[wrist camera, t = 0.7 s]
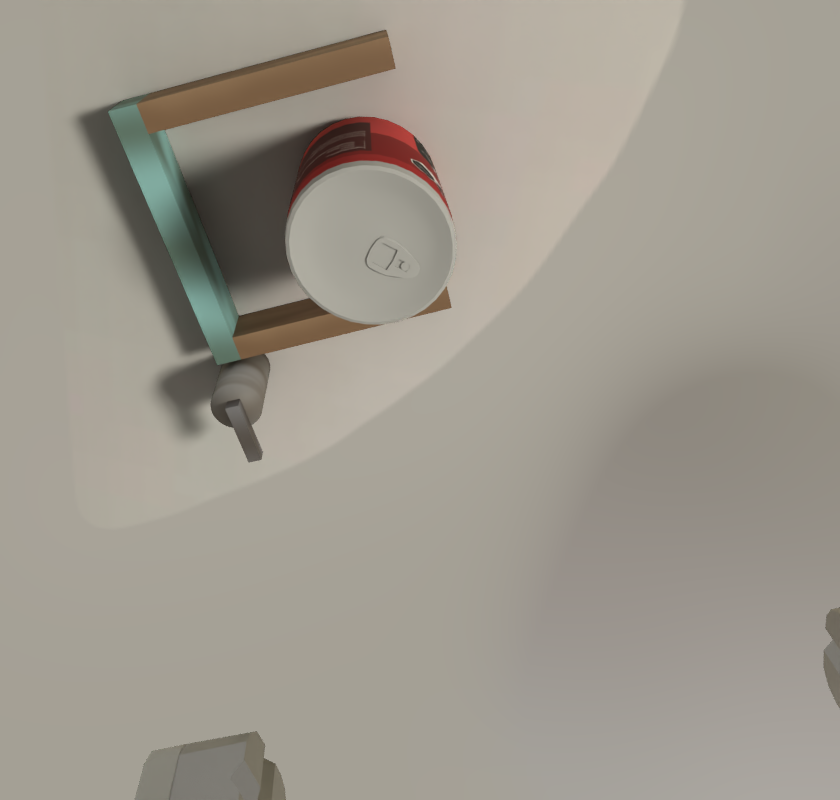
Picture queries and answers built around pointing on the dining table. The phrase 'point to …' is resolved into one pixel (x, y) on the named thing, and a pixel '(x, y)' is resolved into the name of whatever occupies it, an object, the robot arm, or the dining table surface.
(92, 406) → the dining table surface
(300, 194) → the canned food
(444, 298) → the bay
